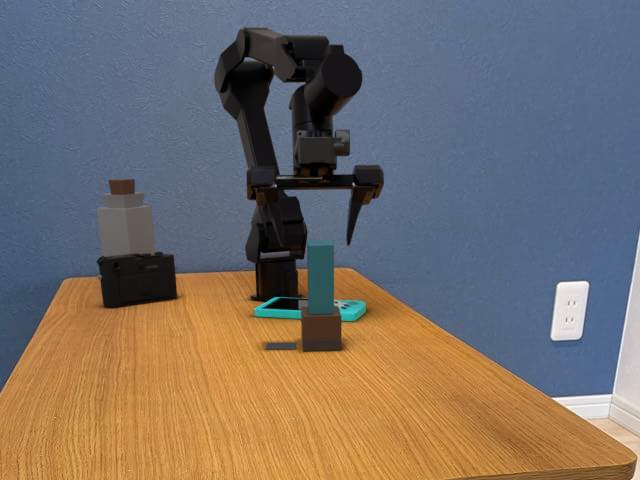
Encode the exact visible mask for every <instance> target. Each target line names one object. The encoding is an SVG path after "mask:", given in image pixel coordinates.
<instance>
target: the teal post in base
mask: <svg viewBox="0 0 640 480" xmlns="http://www.w3.org/2000/svg"><path fill="white" fill-rule="evenodd" d="M306 261H307V262H306V267H307V270H306V272H307V273H306V274H307V275H306V276H307V280H306V281H307V298H308V307H301V319H300V333H301V337H300V338H301V339H300V340H301V348H302V352H322V351H323V352H327V351H328V352H329V351H331V352H332V351H342V321H341V313H340V310H339V307H338V306H334V299H335V244H334V242H333V240H332V239H325V240H324V239H323V240H322V239H321V240H319V239H318V240H307V242H306Z"/></svg>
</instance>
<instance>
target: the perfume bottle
mask: <svg viewBox="0 0 640 480" xmlns="http://www.w3.org/2000/svg"><path fill="white" fill-rule="evenodd" d="M135 181H136V180H135V178H117V179H115V178H114V179H108V186H109V191H110V192H109V193H101V194H100V196H101V198H102V201H103V203H104V206H102V207H96V214H97V221H98V230H99V239H100V246H101V247H100V248H101V255H102V256H104V257H107V256H116V255H125V254H134V253H138V254H140V255H141V254H144V253H150V254H151V255H155V254H154V253H155V252H156V244H155V232H154V220H153V209H152V205H144V198H145V192H141V191H140V192H138V191H136V182H135ZM102 256H101V257H102Z"/></svg>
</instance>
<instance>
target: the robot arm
mask: <svg viewBox="0 0 640 480" xmlns="http://www.w3.org/2000/svg"><path fill="white" fill-rule="evenodd" d="M344 48H345V47H344V45H343V44H341V43H339V44H337V43H336V44H333V43H331V44H330V39H329V38H328V36H326V35H323V34H322V35H320V34H319V35H318V34H317V35H316V34H313V35H312V34H284V33H280V32H276V31H273V30H272V29H270V28H268V27H263V26H262V27H261V26H260V27H254V26H253V27H251V26H249V27H248V26H246V27H243V28H240V29H239V30H238V32H237V35H236V38H235V40H234V41H233V42H232V43H231V44H229V46H228V47H226V49H224V50H223V51H222V52H221V53H220V55H219V57H218V61H217V64H216V67H215V70H214V74H213V75H214V77H213V80H214V89H215V92H217V94H218V95H219V99H220V103H221V105H222V108H223V110H225V111H226V112H227V114H229V115H230V117H232V118H233V120H235V122H236V125H237V128H238V132H239V137H240V141H241V145H242V149H243V153H244V158H245V162H246V165H247V166H246V167H247V169H246V172H245V173H246V174H245V175H246V199H247V200H249V201H255V204H256V205H255V207H254V211H253V215H252V216H251V217H252V218H251V220H250V225H251V228H250V231H249V234H248V237H247V240H246V243H245V246H244V249H245V256H246V261H249V262H251V263H254V269H255V271H254V272H255V294H252V295H250V296H249V297H250V300H256V301H257V300H258V301H266V302H267V301H269V300H271V299H273V298H274V297H287V298H303V293H301V292H299V270H298V269H297V260H300V261H302V260H305V255H306V250H307V241H308V234H309V233H308V232H309V231H308V227H307V224H306V221H305V217H304V215H303V212H302V209H301V208H302V207H301V204H300V200H299V198H298V197H297V196H296V195H290V196H289V195H288V194H287V193H286V191H317V190H318V191H319V190H321V191H327V190H328V191H329V190H350V197H349V200H348V209H347V221H346V234H345V239H346V246H347V247H349V246H351V243H352V239H353V237H354V236H353V235H354V232H355V229H356V224H357V220H358V218H359V214H360V212H361V210H362V207H363V206H368V205H370V204H371V201H372V200H376V199H378V198H379V197H380V195H381V192H382V190H383V187H384V185H385V172H384V169H383V168H382V167H381V165H380V164H355V165H354V166H353V170H352V173H349V174H347V173H343V174H342V173H341V174H338V173H337V174H336V173H335V171H337V168H338V157H349V156H350V155H351V130H350V129H336V130H334V116H337V114H339V113H340V112H342V110H343V109H344V108H345V107H346V106H347V104H348V103H349V102H350V101H351V100H352V99H353V98H354V97H355V96H356V95H357V93H358V92H359V91H360V89H361V88H362V85H363V71H362V69H361V68H360V66H359V64H358V62H357V61H356V60H355V59H354V58H353V57H352V56H350V55H348V54H347V53H345V49H344ZM245 58H250V59H251V60H247V59H246V60H245ZM252 59H253V60H252ZM274 76H276V77H277V78H278V79H279V80H280V81H281V82H282V83H283V84H299V83H300V84H301V83H302V84H301V85H300V86H299V87H297V88H296V89H295V91H294V92H293V93H292V95H291V96H290V97H291V98H290V100H289V103H288V110H290V111H291V138H292V140H291V141H292V142H291V143H292V174H281V171H280V168H279V164H278V160H277V155H276V152H275V151H276V150H275V148H274V144H273V140H272V136H271V132H270V127H269V124H268V120H267V119H268V118H267V114H266V110H265V106H266V103H267V100H268V98H269V95H270V91H271V90H270V86H271V84H272V81H273V79H274ZM303 83H304V84H303Z"/></svg>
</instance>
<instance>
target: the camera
mask: <svg viewBox="0 0 640 480" xmlns="http://www.w3.org/2000/svg"><path fill="white" fill-rule="evenodd" d="M154 254H155V255H151V254H150V253H144V254H141V255H140V254H138V253H134V254H125V255H116V256H107V257H104V256H100V257H98V259H97V260H96V265H98V270H99V271H98V272H99V274H98V275H97V276H96V278H97V280H99V281H100V290H101V296H102V304H103V306H104V308H107V309H115V308H123V307H130V306H137V305H143V304H151V303H158V302H164V301H165V302H166V301H172V300H176V299H177V298H178V288H177V276H176V271H177V270H178V266H176V264H175V255H174V254H171V253H164V252H163V251H155V253H154Z"/></svg>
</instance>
